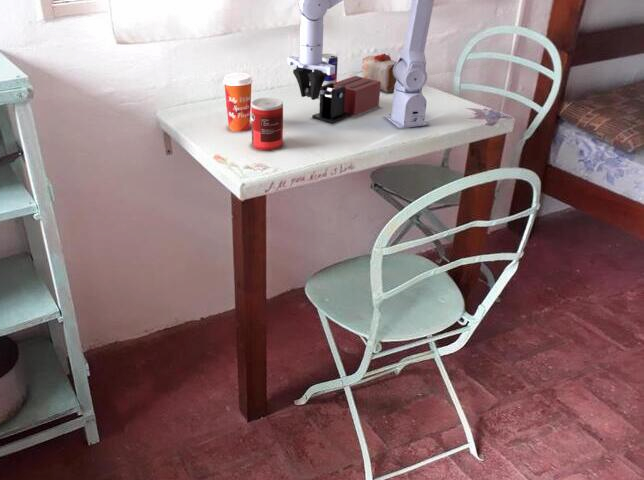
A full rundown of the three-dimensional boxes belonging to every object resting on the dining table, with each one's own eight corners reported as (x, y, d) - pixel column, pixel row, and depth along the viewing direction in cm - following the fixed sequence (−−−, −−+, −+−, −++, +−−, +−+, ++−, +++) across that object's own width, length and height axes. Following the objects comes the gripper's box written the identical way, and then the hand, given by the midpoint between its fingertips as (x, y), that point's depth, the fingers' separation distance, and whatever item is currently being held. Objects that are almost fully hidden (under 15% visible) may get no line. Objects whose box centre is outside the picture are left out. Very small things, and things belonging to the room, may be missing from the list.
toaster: (354, 118, 182) (355, 90, 178) (328, 110, 188) (329, 83, 184) (379, 108, 188) (381, 81, 184) (353, 101, 194) (355, 74, 190)
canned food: (264, 137, 172) (263, 95, 166) (289, 143, 168) (289, 101, 162) (245, 146, 167) (244, 103, 161) (271, 153, 163) (270, 109, 157)
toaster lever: (309, 98, 171) (311, 86, 170) (300, 95, 173) (303, 83, 172) (338, 99, 180) (341, 88, 178) (330, 97, 181) (332, 86, 180)
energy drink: (336, 99, 196) (338, 58, 190) (318, 99, 196) (320, 58, 190) (334, 93, 201) (336, 53, 194) (317, 94, 201) (318, 53, 194)
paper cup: (229, 135, 175) (227, 81, 167) (221, 125, 181) (219, 73, 173) (257, 131, 176) (256, 78, 169) (249, 121, 182) (248, 70, 175)
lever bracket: (331, 124, 178) (333, 92, 174) (312, 118, 183) (313, 87, 178) (350, 117, 183) (352, 85, 178) (331, 111, 187) (332, 80, 182)
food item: (356, 83, 208) (358, 51, 203) (376, 79, 211) (379, 47, 206) (385, 94, 198) (388, 61, 193) (405, 89, 201) (409, 56, 196)
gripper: (279, 42, 168) (279, 95, 176) (322, 51, 159) (320, 107, 167) (298, 37, 172) (297, 89, 180) (341, 46, 163) (338, 100, 171)
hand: (309, 97), depth 173 cm, fingers closed on toaster lever, 3 cm apart
